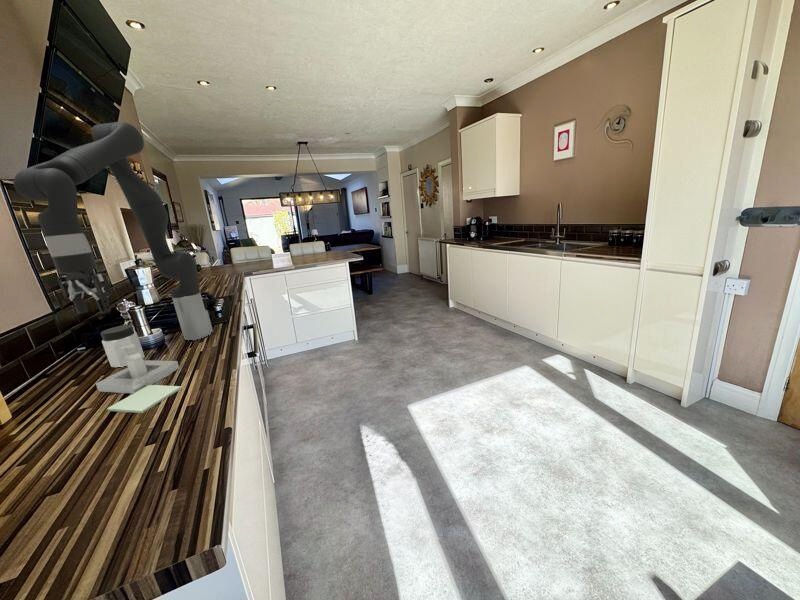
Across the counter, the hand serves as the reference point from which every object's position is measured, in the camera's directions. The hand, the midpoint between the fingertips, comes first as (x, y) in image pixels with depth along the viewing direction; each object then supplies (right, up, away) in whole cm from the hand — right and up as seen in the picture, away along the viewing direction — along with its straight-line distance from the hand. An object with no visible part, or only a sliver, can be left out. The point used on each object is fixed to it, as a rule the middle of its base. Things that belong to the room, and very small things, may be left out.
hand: (94, 312), depth 87 cm
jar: (-9, -18, +22) cm, 30 cm away
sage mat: (+17, -22, -3) cm, 28 cm away
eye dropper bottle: (+6, -20, +8) cm, 23 cm away
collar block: (+6, -20, +8) cm, 22 cm away
